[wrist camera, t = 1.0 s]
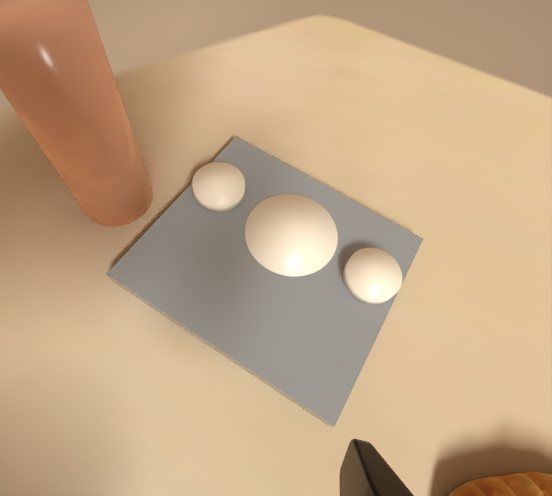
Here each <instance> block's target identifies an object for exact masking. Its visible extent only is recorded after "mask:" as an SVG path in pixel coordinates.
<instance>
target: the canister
mask: <svg viewBox="0 0 552 496" xmlns="http://www.w3.org/2000/svg"><path fill="white" fill-rule="evenodd" d="M0 89H1V90H2V92H3V93H4V95H5V96H6V98H7V99H8V101H9V102H10V104H11V105H12V106H13V108H14V109H15V111H16V112H17V114H18V115H19V117H20V118H21V120H22V121H23V123H24V124H25V125H26V127H27V128H28V130H29V131H30V133H31V134H32V136H33V137H34V139H35V140H36V141H37V143H38V144H39V146H40V147H41V149H42V150H43V152H44V153H45V155H46V156H47V157H48V159H49V160H50V162H51V163H52V165H53V166H54V168H55V169H56V171H57V172H58V173H59V175H60V176H61V178H62V179H63V181H64V182H65V184H66V185H67V187H68V188H69V189H70V191H71V192H72V194H73V195H74V197H75V198H76V200H77V201H78V203H79V204H80V206H81V207H82V208H83V210H84V211H85V213H86V214H87V215H88V216H89V218H91V219H92V220H93V221H95V222H97V223H100V224H103V225H108V226H119V225H124V224H128V223H130V222H133V221H135V220H136V219H138V218H139V217H141V216H142V215H143V214H144V213H145V212H146V211H147V210H148V208H149V207H150V205H151V202H152V198H153V191H152V187H151V184H150V182H149V179H148V176H147V173H146V170H145V167H144V164H143V161H142V158H141V155H140V152H139V149H138V147H137V144H136V141H135V138H134V135H133V132H132V129H131V126H130V123H129V120H128V117H127V114H126V111H125V109H124V106H123V103H122V100H121V97H120V94H119V91H118V88H117V85H116V82H115V79H114V76H113V74H112V71H111V68H110V65H109V62H108V59H107V56H106V53H105V50H104V47H103V44H102V41H101V39H100V36H99V33H98V30H97V27H96V24H95V21H94V18H93V15H92V13H91V9H90V7H89V4H88V1H87V0H0Z"/></svg>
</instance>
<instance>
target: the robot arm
mask: <svg viewBox="0 0 552 496" xmlns="http://www.w3.org/2000/svg"><path fill="white" fill-rule="evenodd" d="M340 496H414V495H413V494H412V493H411V492H410V490H409V489H408V488H407V487H406V486H405V484H404V483H403V482H402V481H401V480H400V478H399V477H398V476H397V475H396V473H395V472H394V471H393V470H392V469H391V467H390V466H389V465H388V464H387V462H386V461H385V460H384V459H383V458H382V456H381V455H380V454H379V453H378V452H377V450H376V449H375V448H374V447H373V445H372V444H371V443H369V442H366V441H362V440H358V439H353V440H351V442H350V444H349V446H348V449H347V452H346V455H345V457H344V460H343V463H342V466H341V470H340Z"/></svg>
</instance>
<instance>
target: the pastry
mask: <svg viewBox="0 0 552 496" xmlns="http://www.w3.org/2000/svg"><path fill="white" fill-rule="evenodd" d="M448 496H552V474H545V473H541V472H537V471H531V472H523V473H516V474H511V475H505V476H494V477H485V478H480V479H474V480H470V481H468V482H466V483H464V484H463V485H461V486H459V487H458V488H456V489H454V490H453V491H451V492H450V494H449V495H448Z"/></svg>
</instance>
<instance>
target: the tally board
mask: <svg viewBox="0 0 552 496" xmlns="http://www.w3.org/2000/svg"><path fill="white" fill-rule="evenodd" d="M422 240H423V238H421V237H419V236H417V235H415V234H413V233H412V232H410V231H408V230H406V229H404V228H403V227H401V226H399V225H397V224H395V223H393V222H392V221H390V220H388V219H386V218H384V217H382V216H381V215H379V214H377V213H375V212H373V211H372V210H370V209H368V208H366V207H364V206H362V205H361V204H359V203H357V202H355V201H353V200H352V199H350V198H348V197H346V196H344V195H342V194H341V193H339V192H337V191H335V190H333V189H331V188H330V187H328V186H326V185H324V184H322V183H321V182H319V181H317V180H315V179H313V178H311V177H310V176H308V175H306V174H304V173H302V172H301V171H299V170H297V169H295V168H293V167H291V166H290V165H288V164H286V163H284V162H282V161H280V160H279V159H277V158H275V157H273V156H271V155H270V154H268V153H266V152H264V151H262V150H260V149H259V148H257V147H255V146H253V145H251V144H250V143H248V142H246V141H244V140H242V139H240V138H239V137H237V136H235V138H234V139H233V140H232V141H231V142H230V143H229V144H228V145H227V146H226V147H225V148H224V149H223V150H222V151H221V152H220V154H219V155H218V156H217V157H216V158H215V159H214V160H213V161H212V162H211V163H209V164H206V165H204V166H202V167H201V168H200V169H198V170H197V172H196V173H195V175H194V177H193V180H192V183H191V184H190V185H189V186H188V188H187V189H186V190H185V191H184V192H183V193H182V194H181V195H180V196H179V197H178V198H177V199H176V200H175V201H174V202H173V203H172V205H171V206H170V207H169V208H168V209H167V210H166V211H165V212H164V213H163V214H162V215H161V216H160V217H159V218H158V219H157V221H156V222H155V223H154V224H153V225H152V226H151V227H150V228H149V229H148V230H147V231H146V232H145V233H144V234H143V235H142V236H141V238H140V239H139V240H138V241H137V242H136V243H135V244H134V245H133V246H132V247H131V248H130V249H129V250H128V251H127V252H126V253H125V255H124V256H123V257H122V258H121V259H120V260H119V261H118V262H117V263H116V264H115V265H114V266H113V267H112V268H111V269H110V270H109V272H108V273H107V275H108V277H109V278H110V279H111V280H112V281H114V282H115V283H117V284H118V285H120V286H121V287H123V288H124V289H126V290H127V291H129V292H130V293H131V294H133V295H134V296H136V297H137V298H139V299H140V300H142V301H143V302H145V303H146V304H148V305H149V306H151V307H152V308H154V309H155V310H157V311H158V312H160V313H161V314H163V315H164V316H166V317H167V318H169V319H170V320H172V321H173V322H175V323H176V324H178V325H179V326H181V327H182V328H184V329H185V330H187V331H188V332H190V333H191V334H193V335H194V336H196V337H197V338H199V339H200V340H202V341H203V342H205V343H206V344H208V345H209V346H211V347H212V348H214V349H215V350H217V351H218V352H220V353H221V354H223V355H224V356H226V357H227V358H229V359H230V360H232V361H233V362H235V363H236V364H238V365H239V366H241V367H242V368H244V369H245V370H247V371H248V372H250V373H251V374H253V375H254V376H256V377H257V378H259V379H260V380H262V381H263V382H265V383H266V384H268V385H269V386H271V387H272V388H274V389H275V390H277V391H278V392H280V393H281V394H283V395H284V396H286V397H287V398H289V399H290V400H292V401H293V402H295V403H296V404H297V405H299V406H300V407H302V408H303V409H305V410H306V411H308V412H309V413H311V414H312V415H314V416H315V417H317V418H318V419H320V420H321V421H323V422H324V423H326V424H327V425H329V426H335V424H336V422H337V420H338V418H339V416H340V414H341V412H342V409H343V407H344V405H345V403H346V401H347V399H348V397H349V395H350V393H351V390H352V388H353V386H354V384H355V382H356V380H357V378H358V376H359V373H360V371H361V369H362V367H363V365H364V363H365V361H366V359H367V357H368V354H369V352H370V350H371V348H372V346H373V344H374V342H375V340H376V338H377V335H378V333H379V331H380V329H381V327H382V325H383V323H384V321H385V318H386V316H387V314H388V312H389V310H390V308H391V306H392V304H393V302H394V299H395V297H396V295H397V293H398V291H399V289H400V287H401V285H402V282H403V280H404V278H405V276H406V274H407V272H408V270H409V268H410V266H411V263H412V261H413V259H414V257H415V255H416V253H417V251H418V249H419V246H420V244H421V242H422Z"/></svg>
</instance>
